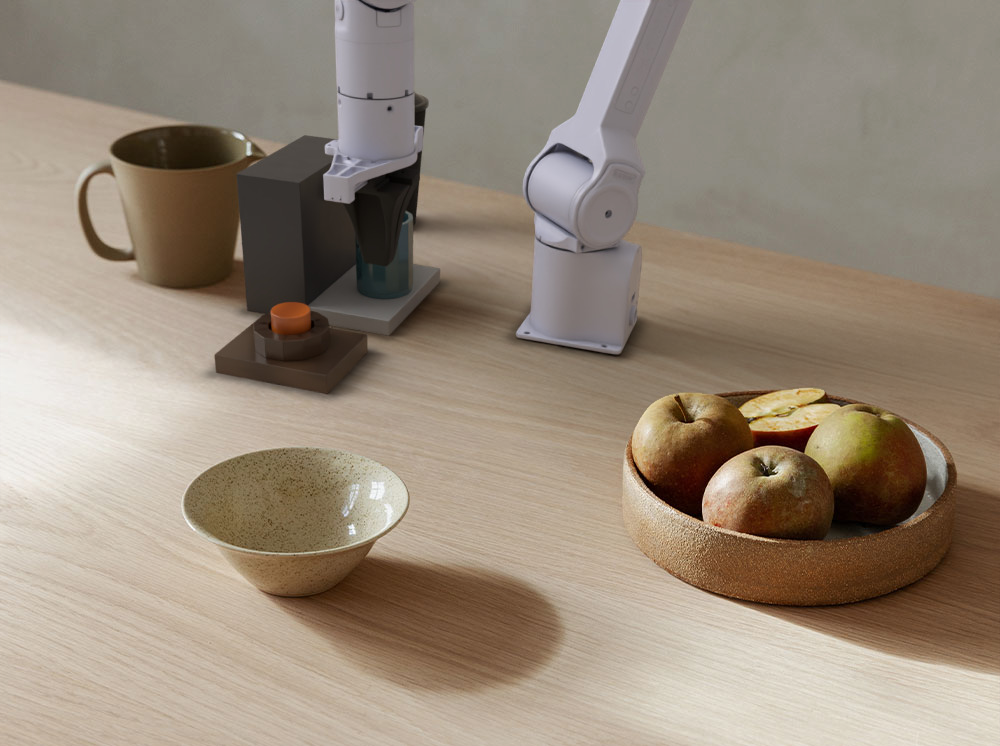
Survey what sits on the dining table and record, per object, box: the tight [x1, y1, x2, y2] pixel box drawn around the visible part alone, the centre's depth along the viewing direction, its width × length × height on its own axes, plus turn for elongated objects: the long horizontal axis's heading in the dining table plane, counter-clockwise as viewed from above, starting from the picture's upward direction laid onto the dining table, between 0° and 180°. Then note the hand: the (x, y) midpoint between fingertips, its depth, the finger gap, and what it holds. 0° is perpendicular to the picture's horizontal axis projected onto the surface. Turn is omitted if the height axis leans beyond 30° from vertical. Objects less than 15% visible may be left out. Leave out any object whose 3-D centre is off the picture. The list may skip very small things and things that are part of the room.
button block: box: [214, 311, 369, 395], centre depth 91 cm, size 10×8×4 cm
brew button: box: [271, 302, 311, 335], centre depth 90 cm, size 3×3×2 cm
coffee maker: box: [236, 134, 441, 337], centre depth 101 cm, size 14×13×13 cm
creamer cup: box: [355, 211, 414, 299], centre depth 101 cm, size 5×5×7 cm
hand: (378, 261), depth 88 cm, fingers closed
